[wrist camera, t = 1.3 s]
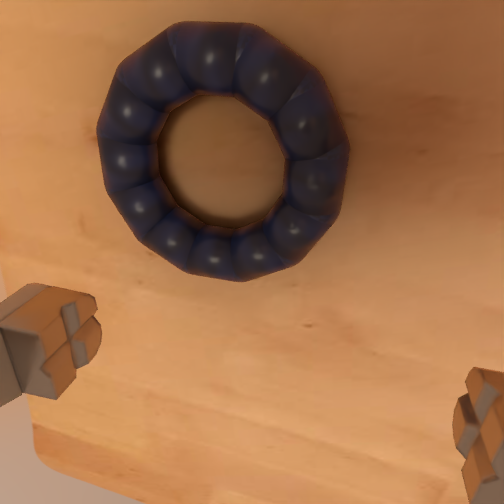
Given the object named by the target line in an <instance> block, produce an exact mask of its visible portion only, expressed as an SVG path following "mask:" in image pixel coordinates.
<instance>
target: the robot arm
mask: <svg viewBox="0 0 504 504" xmlns="http://www.w3.org/2000/svg"><path fill="white" fill-rule="evenodd" d="M97 310H98V308H97V304H96V300H95V297H93V296H92V295H90V294H87V293H83V292H78V291H73V290H69V289H64V288H59V287H55V286H53V287H52V286H48V285H44V284H39V283H31V284H27V285H26V286H24V287H23V288H21V289H20V290H18V291H17V292H15V293H14V294H12V295H11V296H9V297H8V298H7V299H5V300H4V301H2V302H1V303H0V407H1V406H2V405H5V404H6V403H8V402H10V401H12V400H14V399H15V398H17V397H19V396H21V395H22V393H27V394H31V395H36V396H40V397H45V398H49V399H54V400H57V399H58V398H59V397H60V395H61V394H62V393H63V392H64V391H65V390H66V389H67V387H68V386H69V385H70V384H71V383H72V382H73V381H74V380H75V378H76V369H78V368H80V367H82V366H84V365H86V364H89V362H90V361H91V360H92V359H93V358H94V356H95V355H96V354H97V351H98V349H99V347H100V344H101V339H102V330H101V324H100V323H99V322H98V321H97V320H96V318H95V317H94V314H95V313H96V311H97ZM465 383H466V386H467V390H468V393H467V394H465V395H463V396H461V397H460V398H458V401H457V403H456V406H455V409H454V414H453V424H452V426H453V437H454V441H455V446H456V449H457V450H458V451H459V452H460V453H461V454H462V455H463V456H464V458H465V459H466V461H465V463H464V465H463V467H462V470H461V471H462V475H463V479H464V484H465V488H466V492H467V496H468V500H469V504H504V372H500V371H495V370H489V369H484V368H478V367H473V368H472V369H471V370H470V372H469V374H468V376H467V378H466V381H465Z"/></svg>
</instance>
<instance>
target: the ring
mask: <svg viewBox="0 0 504 504" xmlns="http://www.w3.org/2000/svg"><path fill="white" fill-rule="evenodd" d="M197 95H211V96H225V97H235V98H236V99H238V100H239V101H240V102H242V103H243V104H245V105H246V106H247V107H249V108H250V109H252V110H253V111H254V112H256V113H257V114H259V115H260V116H261V117H263V118H264V119H266V120H267V121H268V123H269V125H270V127H271V129H272V131H273V133H274V136H275V138H276V140H277V142H278V144H279V146H280V148H281V150H282V153H283V155H284V157H285V165H284V179H283V192H282V195H281V196H280V197H279V199H278V200H277V202H276V203H275V204H274V206H273V207H272V208H271V210H270V211H269V213H268V214H267V215H266V217H265V218H264V219H261V220H259V221H256V222H254V223H251V224H249V225H246V226H244V227H241V228H239V229H232V228H225V227H218V226H211V225H206V224H204V223H203V222H201V221H200V220H198V219H197V218H195V217H194V216H192V215H191V214H189V213H188V212H187V211H185V210H184V209H182V208H181V207H179V206H178V205H177V203H176V202H175V200H174V198H173V197H172V195H171V193H170V192H169V190H168V188H167V187H166V185H165V183H164V181H163V180H162V178H161V176H160V173H159V161H158V149H157V139H158V137H159V135H160V133H161V130H162V128H163V126H164V124H165V122H166V120H167V118H168V115H169V113H170V111H172V110H173V109H175V108H177V107H178V106H180V105H182V104H183V103H185V102H187V101H188V100H190V99H192V98H193V97H195V96H197ZM96 133H97V140H98V146H99V153H100V159H101V166H102V172H103V179H104V185H105V189H106V191H107V193H108V195H109V197H110V198H111V200H112V202H113V203H114V205H115V206H116V208H117V209H118V211H119V212H120V214H121V215H122V217H123V218H124V220H125V222H126V223H127V225H128V226H129V228H130V229H131V231H132V232H133V234H134V235H135V237H136V238H137V239H138V241H140V242H141V243H142V244H143V245H145V246H146V247H148V248H149V249H151V250H152V251H154V252H155V253H157V254H158V255H160V256H161V257H163V258H164V259H166V260H167V261H168V262H170V263H171V264H173V265H174V266H176V267H177V268H179V269H180V270H182V271H184V272H186V273H188V274H192V275H198V276H204V277H210V278H216V279H222V280H228V281H234V282H246V281H250V280H253V279H256V278H259V277H262V276H265V275H268V274H271V273H274V272H277V271H280V270H283V269H286V268H289V267H292V266H294V265H296V264H298V263H299V262H300V261H301V260H302V259H303V258H304V257H305V256H306V255H307V254H308V252H309V251H310V250H311V249H312V248H313V247H314V245H315V244H316V243H317V242H318V241H319V240H320V238H321V237H322V236H323V235H324V234H325V233H326V231H327V230H328V229H329V228H330V227H331V226H332V224H333V223H334V222H335V221H336V219H337V218H338V215H339V213H340V210H341V205H342V198H343V192H344V185H345V179H346V173H347V166H348V160H349V152H350V146H349V141H348V138H347V135H346V132H345V130H344V127H343V125H342V122H341V120H340V118H339V115H338V113H337V110H336V108H335V105H334V103H333V100H332V98H331V95H330V93H329V90H328V88H327V85H326V83H325V81H324V79H323V77H322V75H321V74H320V72H319V71H318V70H317V69H316V68H315V67H314V66H312V65H311V64H310V63H308V62H307V61H306V60H304V59H303V58H302V57H300V56H299V55H297V54H296V53H295V52H293V51H292V50H291V49H289V48H288V47H287V46H285V45H284V44H283V43H281V42H280V41H278V40H277V39H276V38H274V37H273V36H272V35H270V34H269V33H268V32H266V31H265V30H264V29H262V28H260V27H259V26H257V25H254V24H250V23H228V22H194V21H184V22H178V23H175V24H173V25H171V26H170V27H168V28H167V29H165V30H164V31H163V32H161V33H160V34H158V35H157V36H156V37H154V38H153V39H151V40H150V41H149V42H147V43H146V44H144V45H143V46H142V47H140V48H139V49H137V50H136V51H135V52H133V53H132V54H131V55H129V56H128V57H126V58H125V59H124V60H123V61H122V62H121V63H120V64H119V65H118V67H117V69H116V72H115V74H114V77H113V80H112V83H111V86H110V88H109V91H108V94H107V97H106V99H105V102H104V105H103V108H102V111H101V113H100V116H99V119H98V122H97V127H96Z"/></svg>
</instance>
